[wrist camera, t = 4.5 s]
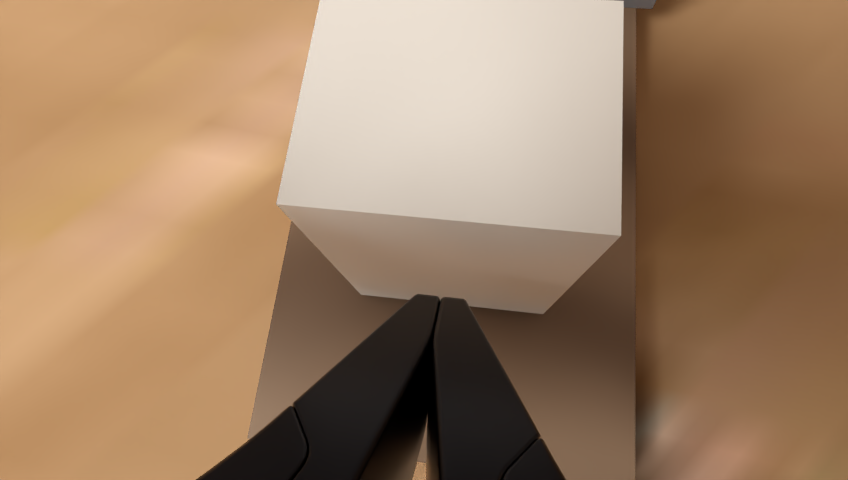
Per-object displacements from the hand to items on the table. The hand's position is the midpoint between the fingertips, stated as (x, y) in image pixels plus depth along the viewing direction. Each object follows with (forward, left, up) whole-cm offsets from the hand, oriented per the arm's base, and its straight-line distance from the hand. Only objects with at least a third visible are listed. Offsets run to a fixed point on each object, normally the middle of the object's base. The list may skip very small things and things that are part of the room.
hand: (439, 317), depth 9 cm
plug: (+1, -4, -5) cm, 7 cm away
